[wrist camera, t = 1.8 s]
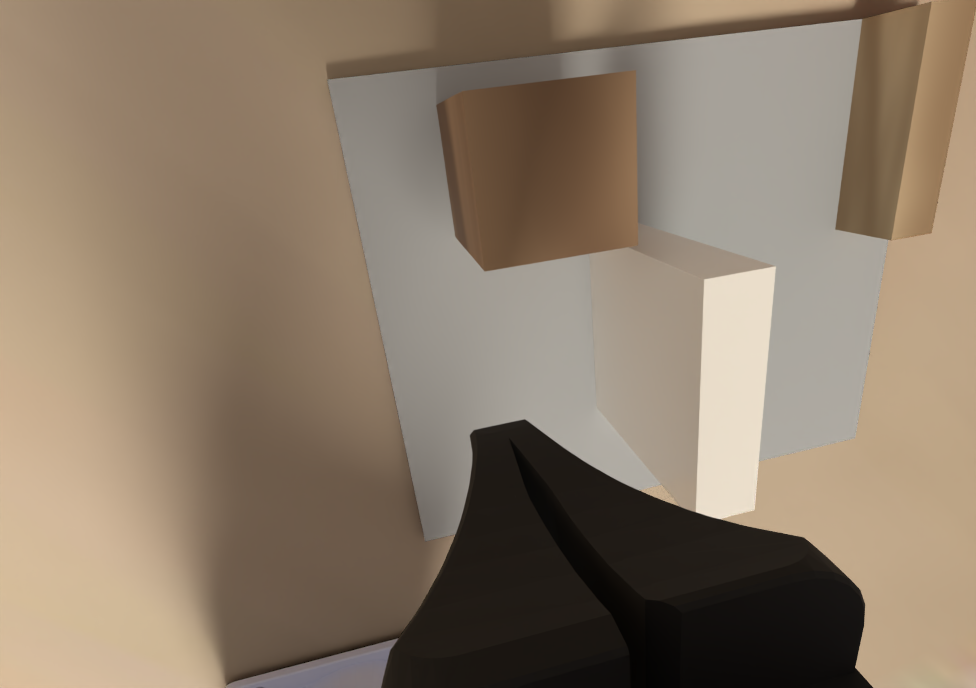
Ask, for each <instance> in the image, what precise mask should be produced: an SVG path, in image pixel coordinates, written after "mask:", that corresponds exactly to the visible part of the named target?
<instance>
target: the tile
mask: <svg viewBox="0 0 976 688" xmlns="http://www.w3.org/2000/svg"><path fill="white" fill-rule="evenodd" d="M589 258H590V279H591V299H592V320H593V341H594V361H595V382H596V403H597V408H598V410H599V411H600V412H601V413H602V414H603V416H604V417H605V418H606V419H607V420H608V422H609V423H610V424H611V425H612V426H613V427H614V429H615V430H616V431H617V432H618V433H619V435H620V436H621V437H622V438H623V439H624V441H625V442H626V443H627V444H628V445H629V447H630V448H631V449H632V450H633V451H634V453H635V454H636V455H637V456H638V457H639V458H640V460H641V461H642V462H643V463H644V464H645V466H646V467H647V468H648V469H649V470H650V472H651V473H652V474H653V475H654V476H655V478H656V479H657V480H658V481H659V482H660V484H661V485H662V486H663V487H664V488H665V489H666V491H667V492H668V493H669V494H670V495H671V497H672V498H673V499H674V500H675V501H676V503H677V504H678V505H679V506H680V507H682V508H685V509H687V510H690V511H693V512H697V513H700V514H703V515H706V516H710V517H713V518H717V519H721V518H725V517H729V516H733V515H737V514H741V513H745V512H749V511H753V510H755V498H756V487H757V476H758V464H759V453H760V442H761V430H762V419H763V408H764V396H765V385H766V374H767V362H768V351H769V340H770V328H771V317H772V306H773V294H774V283H775V272H776V266H774V265H770V264H767V263H764V262H761V261H758V260H754V259H751V258H748V257H745V256H742V255H738V254H735V253H732V252H729V251H726V250H723V249H719V248H716V247H713V246H710V245H707V244H703V243H700V242H697V241H694V240H691V239H688V238H684V237H681V236H678V235H675V234H672V233H668V232H665V231H662V230H659V229H656V228H652V227H649V226H646V225H643V224H640V223H638V246H632V247H626V248H621V249H615V250H609V251H603V252H597V253H591V254H589Z"/></svg>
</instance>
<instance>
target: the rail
mask: <svg viewBox="0 0 976 688" xmlns="http://www.w3.org/2000/svg"><path fill="white" fill-rule="evenodd" d="M975 10H976V0H944V1H935V2H929V3H925V4H921V5H917V6H913V7H909V8H905V9H901V10H896V11H892V12H888V13H884V14H880V15H876V16H872V17H868V18H864V19H862V24H861V32H860V40H859V48H858V55H857V63H856V71H855V79H854V87H853V94H852V102H851V110H850V118H849V126H848V133H847V141H846V149H845V157H844V165H843V172H842V180H841V188H840V196H839V203H838V211H837V219H836V227H835V230H840V231H845V232H850V233H855V234H861V235H866V236H871V237H876V238H881V239H886V240H897V239H902V238H908V237H913V236H919V235H924V234H930V233H932V228H933V223H934V218H935V213H936V208H937V203H938V197H939V192H940V187H941V182H942V177H943V172H944V167H945V162H946V157H947V152H948V147H949V142H950V137H951V132H952V127H953V122H954V117H955V111H956V106H957V101H958V96H959V91H960V86H961V81H962V76H963V71H964V66H965V61H966V56H967V51H968V46H969V41H970V36H971V31H972V25H973V20H974V15H975Z"/></svg>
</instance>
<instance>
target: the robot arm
mask: <svg viewBox="0 0 976 688" xmlns="http://www.w3.org/2000/svg"><path fill="white" fill-rule="evenodd" d="M470 441H471V447H472V453H473V455H472V468H471V476H470V483H469V488H468V492H467V497H466V501H465V505H464V509H463V513H462V516H461V520H460V523H459V526H458V529H457V532H456V534H455V537H454V540H453V542H452V545H451V547H450V550H449V552H448V554H447V557H446V559H445V561H444V563H443V566H442V568H441V570H440V572H439V574H438V576H437V578H436V579H435V581H434V583H433V585H432V587H431V588H430V590H429V592H428V594H427V595H426V597H425V599H424V601H423V603H422V604H421V606H420V608H419V609H418V611H417V612H416V614H415V616H414V617H413V618H412V620H411V621H410V623H409V624H408V626H407V627H406V628H405V630H404V631H403V633H402V634H401V636H400V637H399V638H397V639H393V640H390V641H386V642H382V643H378V644H375V645H371V646H367V647H363V648H359V649H356V650H352V651H348V652H344V653H340V654H337V655H333V656H329V657H325V658H322V659H318V660H314V661H310V662H306V663H303V664H299V665H295V666H291V667H288V668H284V669H280V670H276V671H272V672H269V673H265V674H261V675H257V676H254V677H250V678H246V679H242V680H238V681H235V682H232V683H230V684H228V685H227V686H226V687H225V688H873V687H872V686H871V685H870V684H869V683H868V681H867V680H866V679H865V678H864V677H863V676H862V675H861V674H860V673H859V672H858V670H857V669H856V668H855V665H856V660H857V656H858V651H859V646H860V642H861V637H862V632H863V628H864V615H865V603H864V600H863V597H862V594H861V591H860V589H859V588H858V587H857V586H856V585H855V584H854V583H853V582H852V581H851V580H850V579H849V578H848V577H847V576H846V575H845V574H844V573H843V572H842V571H841V570H840V569H839V568H838V567H837V566H836V565H835V564H834V563H832V562H831V561H830V560H829V559H828V558H827V557H826V556H825V555H824V554H823V553H822V552H820V551H819V550H818V549H817V548H816V547H815V546H813V545H812V544H811V543H810V542H809V541H807V540H806V539H805V538H803V537H798V536H793V535H788V534H783V533H778V532H773V531H768V530H762V529H757V528H752V527H747V526H743V525H739V524H736V523H732V522H728V521H724V520H721V519H717V518H713V517H710V516H706V515H703V514H700V513H697V512H693V511H690V510H687V509H685V508H682V507H679V506H676V505H674V504H671V503H668V502H665V501H663V500H660V499H658V498H655V497H653V496H650V495H648V494H646V493H643V492H641V491H639V490H637V489H635V488H633V487H630V486H628V485H626V484H624V483H622V482H620V481H618V480H616V479H614V478H612V477H610V476H608V475H607V474H605V473H603V472H601V471H600V470H598V469H596V468H595V467H593V466H591V465H589V464H588V463H586V462H585V461H583V460H581V459H580V458H578V457H577V456H575V455H574V454H572V453H571V452H569V451H568V450H566V449H565V448H564V447H562V446H561V445H559V444H558V443H557V442H555V441H554V440H552V439H551V438H550V437H548V436H547V435H546V434H544V433H543V432H542V431H540V430H539V429H538V428H536V427H535V426H534V425H532V424H531V423H530V422H528V421H527V420H526V419H523V420H518V421H514V422H509V423H504V424H500V425H495V426H490V427H486V428H481V429H476V430H473V432H472V433H471V434H470Z"/></svg>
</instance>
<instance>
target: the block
mask: <svg viewBox="0 0 976 688" xmlns="http://www.w3.org/2000/svg"><path fill="white" fill-rule="evenodd" d="M436 107H437V113H438V120H439V127H440V134H441V141H442V148H443V155H444V162H445V169H446V176H447V183H448V190H449V197H450V204H451V211H452V218H453V225H454V231H455V237H456V238H457V240H458V241H459V242H460V243H461V244H462V246H463V247H464V248H465V249H466V250H467V251H468V253H469V254H470V255H471V256H472V257H473V258H474V260H475V261H476V262H477V263H478V264H479V265H480V267H481V268H482V269H483V270H484V271H485V272H486V271H492V270H497V269H503V268H509V267H515V266H521V265H527V264H533V263H538V262H544V261H550V260H556V259H562V258H568V257H574V256H579V255H585V254H591V253H597V252H603V251H609V250H615V249H621V248H626V247H632V246H638V193H637V114H636V70H633V71H624V72H616V73H608V74H599V75H591V76H583V77H575V78H566V79H558V80H550V81H541V82H533V83H525V84H517V85H508V86H500V87H492V88H483V89H475V90H467V91H461V92H459V93H458V94H456V95H454V96H452V97H450V98H448V99H446V100H444V101H443V102H441V103H439V104H437V105H436Z"/></svg>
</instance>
